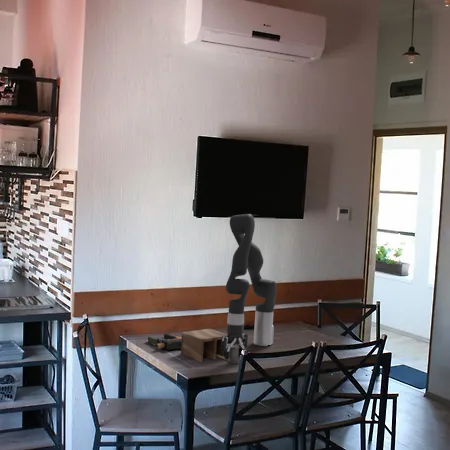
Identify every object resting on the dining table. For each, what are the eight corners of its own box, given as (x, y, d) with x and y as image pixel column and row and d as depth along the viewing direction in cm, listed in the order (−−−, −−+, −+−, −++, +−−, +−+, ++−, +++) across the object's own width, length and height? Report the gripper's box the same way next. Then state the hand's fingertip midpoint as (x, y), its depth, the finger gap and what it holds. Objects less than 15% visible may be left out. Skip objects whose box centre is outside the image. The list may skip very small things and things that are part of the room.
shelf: (208, 349, 304) (209, 328, 303) (228, 356, 293) (229, 335, 292) (180, 353, 293) (182, 332, 293) (200, 361, 282) (201, 339, 281)
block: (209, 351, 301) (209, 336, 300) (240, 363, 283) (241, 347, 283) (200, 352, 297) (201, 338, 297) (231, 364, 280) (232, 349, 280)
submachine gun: (135, 343, 312) (161, 352, 292) (135, 333, 312) (161, 342, 292) (184, 338, 330) (211, 347, 310) (184, 329, 330) (212, 337, 310)
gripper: (241, 319, 290) (239, 353, 291) (218, 322, 280) (216, 358, 281) (252, 322, 284) (250, 357, 285) (229, 325, 275) (226, 362, 276)
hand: (233, 357), depth 283 cm, fingers open, 8 cm apart
